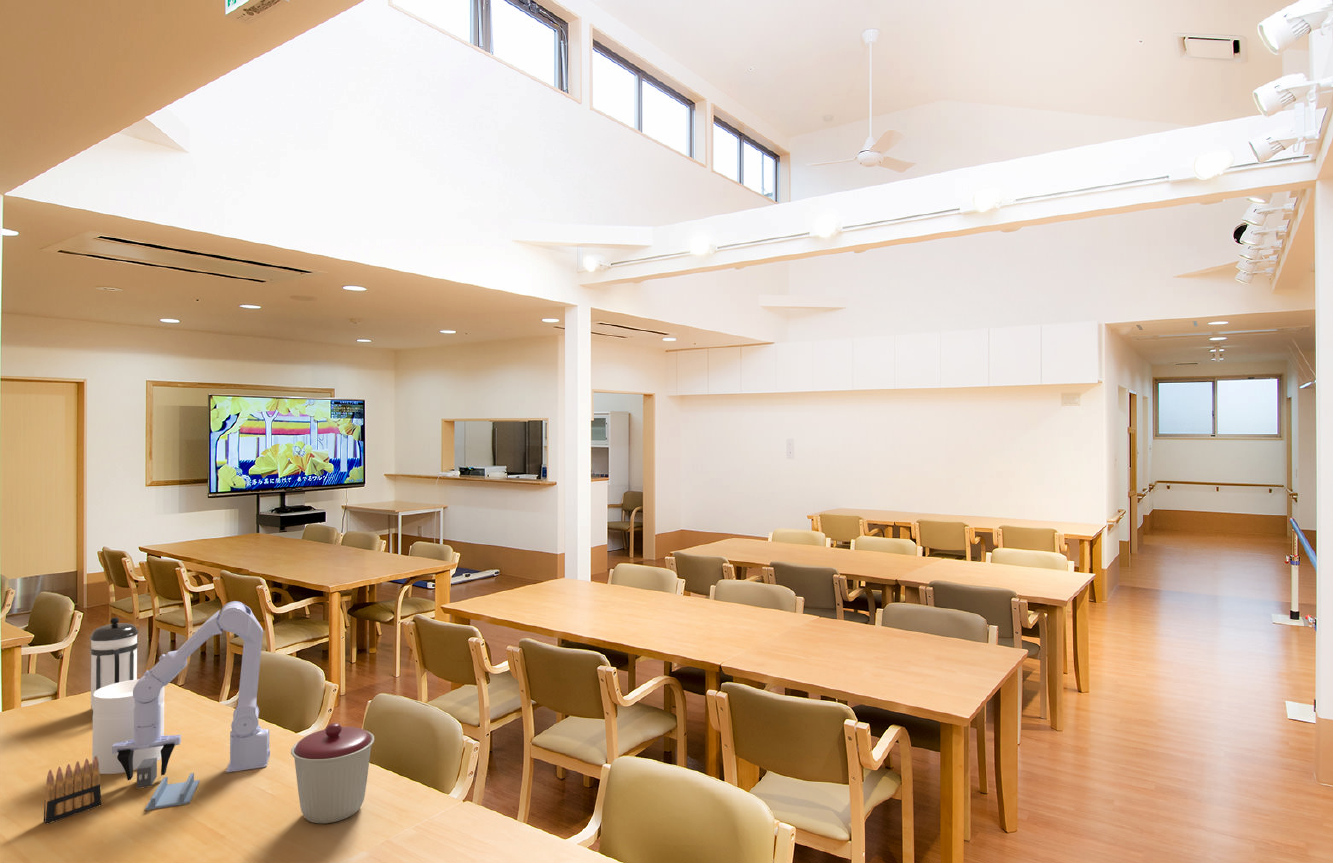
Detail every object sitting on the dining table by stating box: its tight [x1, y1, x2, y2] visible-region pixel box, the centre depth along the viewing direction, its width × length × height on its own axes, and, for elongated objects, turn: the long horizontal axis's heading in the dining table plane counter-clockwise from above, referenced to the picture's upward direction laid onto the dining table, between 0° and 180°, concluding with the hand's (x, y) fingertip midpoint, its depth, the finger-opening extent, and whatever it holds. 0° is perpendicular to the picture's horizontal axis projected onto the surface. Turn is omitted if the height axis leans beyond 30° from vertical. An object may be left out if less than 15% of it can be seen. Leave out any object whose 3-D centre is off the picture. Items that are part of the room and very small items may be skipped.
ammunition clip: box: [43, 756, 102, 825], centre depth 175 cm, size 11×2×12 cm, turn 146°
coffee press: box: [89, 617, 140, 710], centre depth 241 cm, size 17×16×30 cm
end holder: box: [144, 772, 200, 811], centre depth 183 cm, size 9×12×3 cm
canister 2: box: [290, 722, 375, 824], centre depth 175 cm, size 18×18×21 cm
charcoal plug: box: [136, 758, 158, 789], centre depth 190 cm, size 3×7×5 cm, turn 23°
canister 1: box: [91, 678, 165, 775], centre depth 203 cm, size 16×16×20 cm
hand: (147, 776), depth 190 cm, fingers open, 7 cm apart
